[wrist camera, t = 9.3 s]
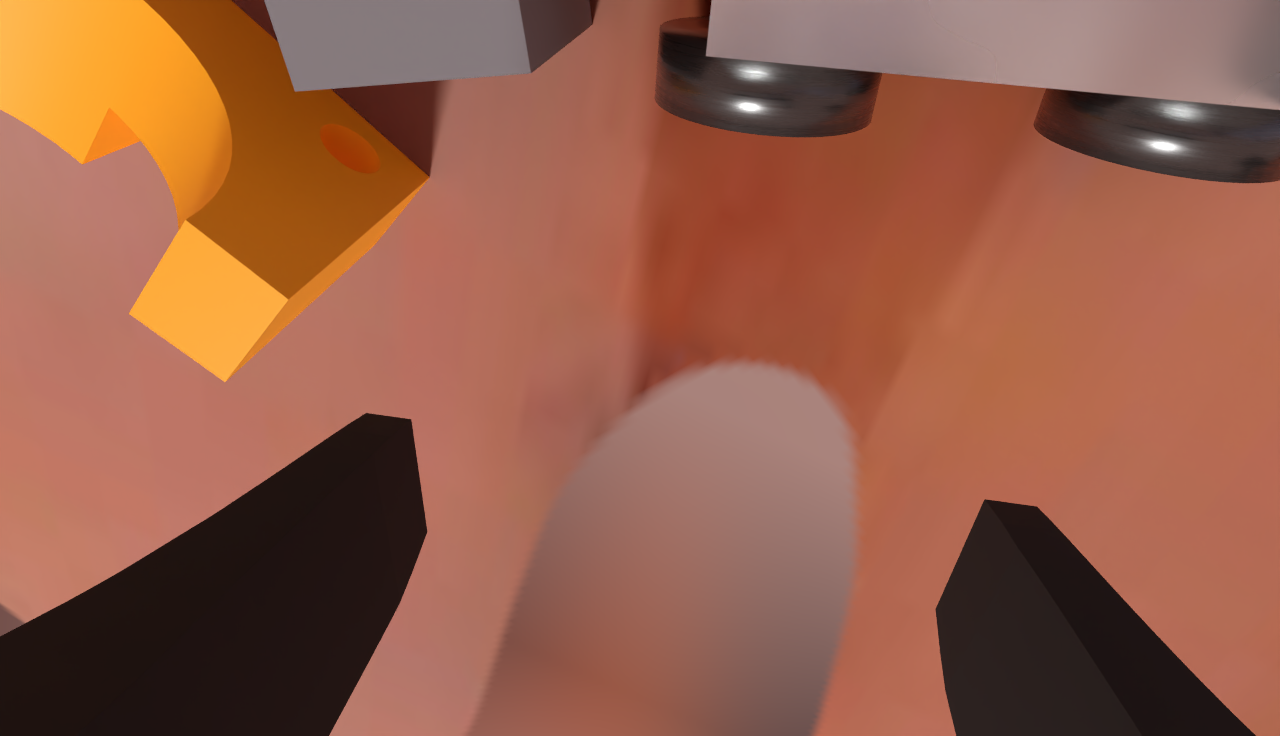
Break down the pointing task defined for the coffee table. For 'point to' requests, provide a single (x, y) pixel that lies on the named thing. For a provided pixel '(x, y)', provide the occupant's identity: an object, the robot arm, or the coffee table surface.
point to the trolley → (999, 71)
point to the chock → (419, 38)
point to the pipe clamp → (210, 157)
